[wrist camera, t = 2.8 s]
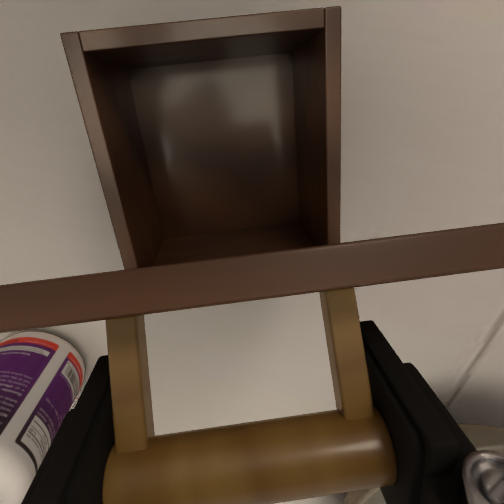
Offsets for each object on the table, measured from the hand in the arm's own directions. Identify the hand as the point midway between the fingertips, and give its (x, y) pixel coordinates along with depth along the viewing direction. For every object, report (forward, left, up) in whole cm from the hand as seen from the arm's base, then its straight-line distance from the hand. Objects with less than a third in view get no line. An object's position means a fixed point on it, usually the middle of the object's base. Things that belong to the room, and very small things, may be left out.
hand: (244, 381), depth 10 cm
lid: (-1, 0, -4) cm, 4 cm away
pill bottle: (+13, -19, -20) cm, 30 cm away
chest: (-4, 0, -19) cm, 20 cm away
